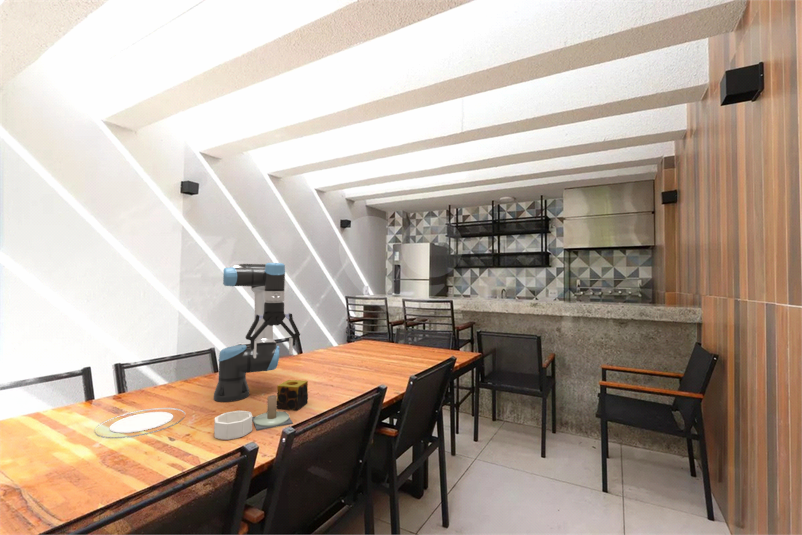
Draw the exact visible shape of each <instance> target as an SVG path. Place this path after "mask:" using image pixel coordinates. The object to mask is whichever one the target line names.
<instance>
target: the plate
mask: <svg viewBox="0 0 802 535" xmlns="http://www.w3.org/2000/svg"><path fill="white" fill-rule="evenodd" d="M154 410H155V411H154ZM156 410H175V411H179V412H182V413H183V414H184V416H183V418H181V419H180V420H179V421H177V422H175V423H173V424H170V425H168V426H165V427H163V428H160V429H158V430H154V431H149V430H153V429H155V428H156V429H157V428H158V427H161V426H164V425H166V424H168V423H169V422H171V421H172V420H173V419H174V415H173V413H171V412H167V411H156ZM147 411H150V412H147ZM140 412H141V413H140ZM135 413H138V414H135ZM127 414H128V415H129V416H127ZM130 414H131V415H130ZM133 414H134V415H133ZM120 416H121V417H123V416H125V417H124V418H121V419H118V420H117V421H115V422H113V423H112V424H110V426H109V428H110V429H109V431H110V432H112V433H115V432H116V433H117V434H131V433H133V432H134V433H139V431H140V432H144V433H140V434H134V435H127V436H103V435H101V434H98V433H96V434H95V435H96V436H97V437H100V436H101V437H100V438H104V437H106V438H105V439H126V438H125V437H127V438H134V437H140V436H139V435H141V436H145V435H144V434H146V435H149V434H148V433H150V434H152V433H153V432H154V433H157V432H160V431H163V430H166V429H169V428H171V427H173V426H175V425H177V424H179V423H180V422H182V421H183V420H184V418H185V416H186V412H185V411H184V410H182V409H181V408H176V407H175V408H174V407H157V408H147V409H141V410H134V411H131V412H127V413H123V414H120V415H118V416H114V417H112V418H109V419H107V420H105V421H103V422H102V423H100V424H98V425H97V426H96V427H95V428H94V431H95V430H97V429H98V428H99V427H100V426H102V425H103V423H104V424H105V422H106V423H107V421H108V422H110V421H112V420H115V419H117V417H118V418H120ZM114 418H115V419H114ZM111 419H112V420H111ZM109 420H110V421H109ZM101 424H102V425H101ZM98 426H99V427H98ZM97 427H98V428H97ZM96 428H97V429H96ZM152 428H153V429H152ZM148 429H149V430H148ZM144 430H145V431H149V432H145V431H144ZM154 433H153V434H154Z"/></svg>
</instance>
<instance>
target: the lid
mask: <svg viewBox="0 0 802 535" xmlns="http://www.w3.org/2000/svg"><path fill="white" fill-rule="evenodd" d="M266 404H267V406H266V410H267V412H264V413H261V414H258V415H255V416H256V417H255V416H254V417H255V418H254V423H253V425H254V424H256V425H258V426H275V425H279V424H282V423H284V422H286V421H288V419H289V417H290V414H289V413H288V412H287V411H285V412H283V411H281V410H280V411H279V410H278V409H277V395H273V394H272V395H268V396H267V403H266Z"/></svg>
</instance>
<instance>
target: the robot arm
mask: <svg viewBox="0 0 802 535" xmlns="http://www.w3.org/2000/svg"><path fill="white" fill-rule="evenodd" d="M222 274H223V277H222V278H223V279H222V280H223V282H222V284H223V285H224V286H225V287H251V288H250V289H251V292H252V293H254V320H253V322H252V324H251V326H250V328H249V330H248V332H247V333H246V335H245V339H246V340H248V341H250V342H249V343H250V345H249V346H250V347H248V346H247V345H246V344H237V345H232V346H228V347H225V348H223V349H221V350H220V351H219V353H218V354H219V356H218V381H217V385H216V388H215V389H214V392H213V400H214V401H215V402H221V403H222V402H223V403H226V402H227V403H229V402H230V403H231V402H236V401H240V400H244V399H245V398H248V397H249V396H250V388H249V385H248V382H247V379H246V378H247V377H246V376H247V374H248V373H249V374H250V373H259V372H269V371H274V370H275V369H277V368H278V364H279V360H280V345H277V341H275V339H274V332H273V331H274V330H273V329H274V326H280V325H281V327H283V329H284V330H285V332H287V333H288V334H289V336H290V337H289V338H288V339H289V340H288V341H289V344H288V346H289V347H288V354H289V355H293V349H294V348H293V347H295V345H296V338H297V337H299V336H301V333H300V331H299V328H298V326H297V324H296V323H295V321H294V318H293V313H290V312H288V313H286V314H285V286H286V284H285V283H286V282H285V281H286V280H285V279H286V264H284V263H282V262H267V263H239V264H235V265H231V266H230V267H225V268H223V273H222ZM285 318H286V319H287V320H288V321H289V323H290V325H291V327H292V330H293V331H294V332H293V331H292V330H291V328H290V327H288V325H287V324H286V323H285V322H284V320H285Z"/></svg>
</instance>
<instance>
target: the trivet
mask: <svg viewBox="0 0 802 535" xmlns="http://www.w3.org/2000/svg"><path fill="white" fill-rule="evenodd" d="M282 412H286V410H285V411H282ZM256 416H257V415H254V416H252V424H253V425H254V429H255V431H256V432H257V431H263V430H268V429H273V428H277V427H283V426H287V425H292V424H294V422H293V421H292V419H291V417H290V416H289V419H288V421H286V422H284V423H282V424H279V425H275V426H258V425H256V424H254V418H255V417H256Z"/></svg>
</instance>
